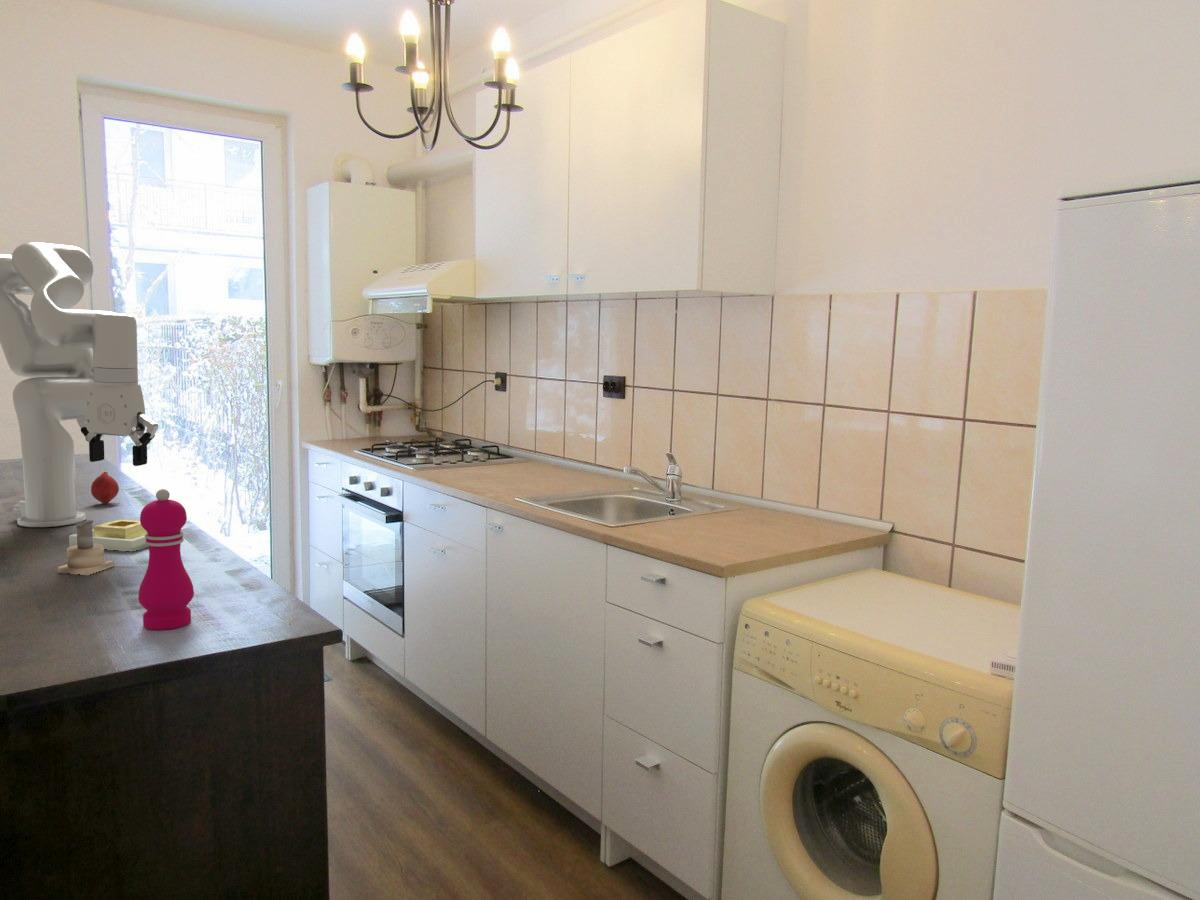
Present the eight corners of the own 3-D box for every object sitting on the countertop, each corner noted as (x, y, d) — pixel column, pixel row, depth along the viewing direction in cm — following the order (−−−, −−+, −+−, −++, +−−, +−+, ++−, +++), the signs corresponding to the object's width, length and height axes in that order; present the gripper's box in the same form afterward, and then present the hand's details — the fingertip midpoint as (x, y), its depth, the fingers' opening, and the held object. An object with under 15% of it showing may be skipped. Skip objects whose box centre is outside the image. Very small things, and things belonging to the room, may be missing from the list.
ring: (94, 541, 166) (93, 526, 165) (127, 531, 175) (127, 517, 174) (125, 543, 164) (125, 528, 164) (157, 533, 173) (157, 519, 173)
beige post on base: (58, 572, 147) (55, 524, 146) (85, 563, 153) (82, 517, 152) (88, 575, 146) (85, 526, 145) (113, 566, 152) (111, 519, 150)
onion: (106, 506, 201) (104, 473, 200) (85, 505, 202) (84, 472, 201) (124, 502, 207) (123, 470, 206) (104, 500, 208) (102, 469, 207)
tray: (69, 546, 164) (68, 535, 164) (122, 531, 178) (122, 521, 177) (132, 552, 162) (132, 541, 161) (181, 536, 175) (181, 525, 175)
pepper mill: (152, 615, 127) (147, 484, 124) (202, 615, 127) (198, 485, 125) (130, 631, 120) (124, 493, 117) (183, 631, 120) (178, 494, 118)
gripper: (62, 374, 162) (65, 462, 165) (141, 380, 159) (143, 469, 162) (92, 373, 170) (94, 456, 172) (168, 378, 166) (170, 463, 169)
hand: (118, 462), depth 167 cm, fingers open, 9 cm apart
